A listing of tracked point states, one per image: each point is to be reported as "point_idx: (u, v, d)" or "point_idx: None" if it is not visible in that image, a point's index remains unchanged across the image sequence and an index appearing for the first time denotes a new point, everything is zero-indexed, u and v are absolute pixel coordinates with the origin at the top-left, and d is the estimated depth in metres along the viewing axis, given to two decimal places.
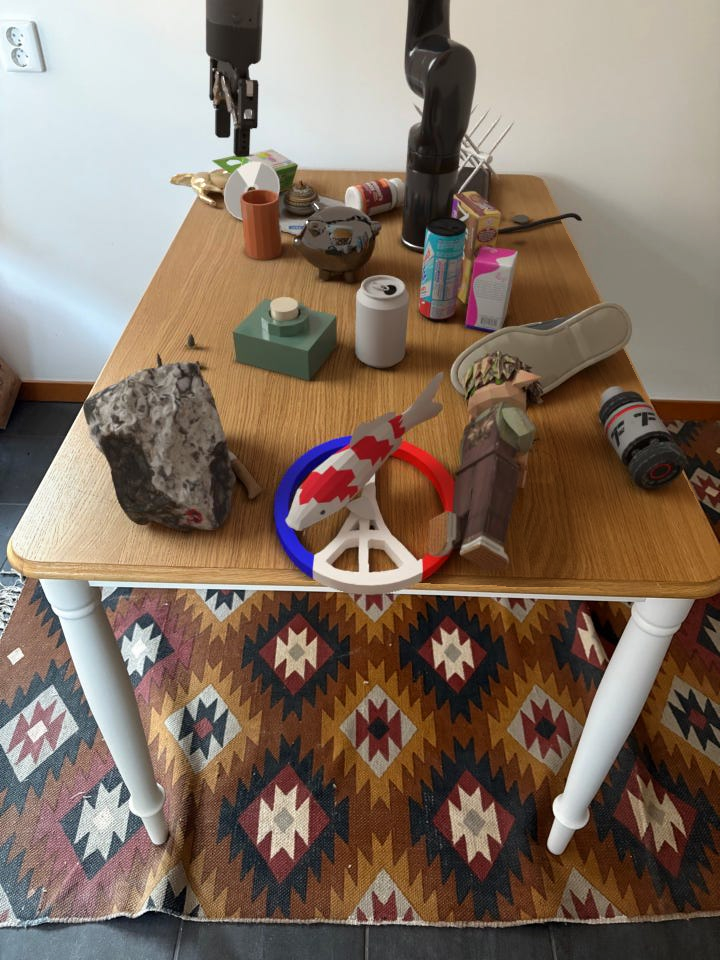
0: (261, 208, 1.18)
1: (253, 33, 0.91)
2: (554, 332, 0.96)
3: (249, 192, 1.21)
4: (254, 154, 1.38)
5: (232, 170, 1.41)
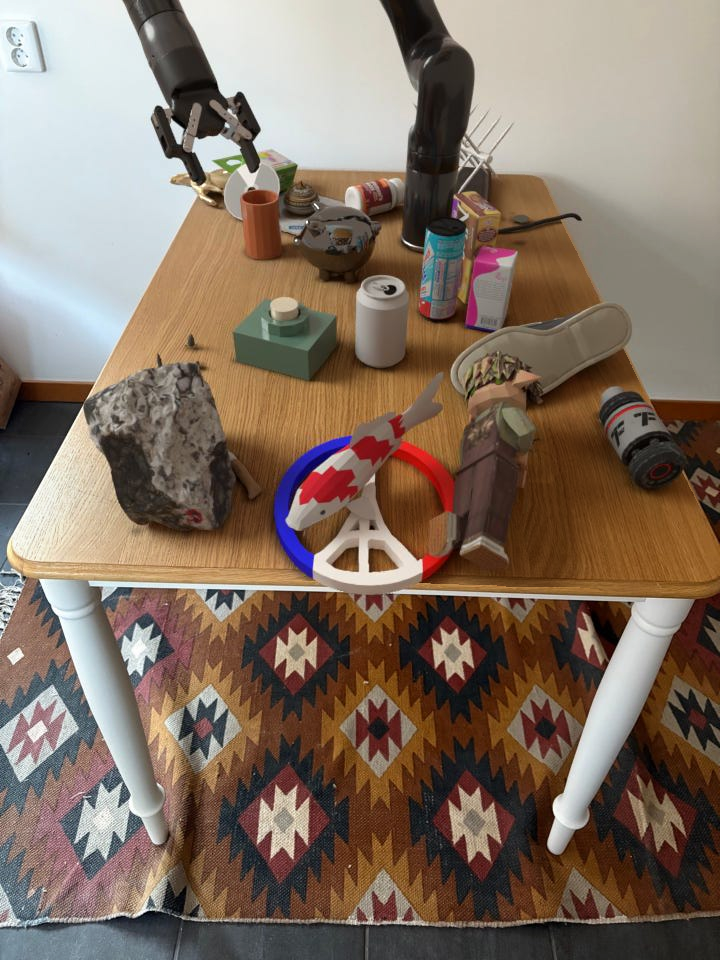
0: (261, 208, 1.18)
1: (161, 64, 0.90)
2: (554, 332, 0.96)
3: (249, 192, 1.21)
4: None
5: (232, 170, 1.41)
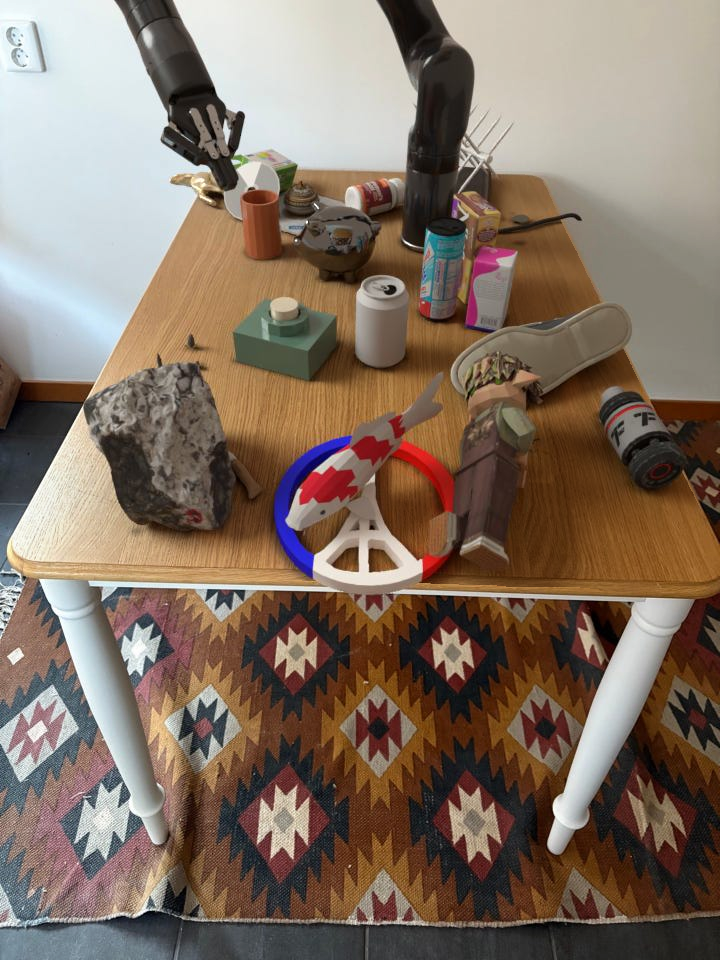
0: (261, 208, 1.18)
1: (158, 71, 0.91)
2: (554, 332, 0.96)
3: (249, 192, 1.21)
4: (254, 154, 1.38)
5: None
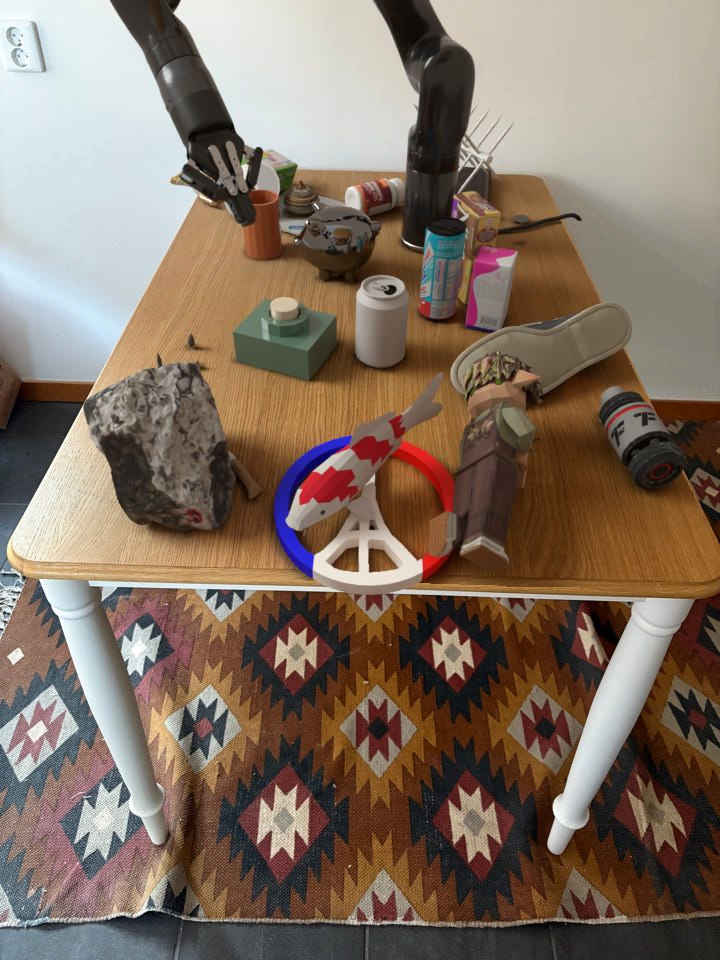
0: (261, 208, 1.18)
1: (177, 109, 0.91)
2: (554, 332, 0.96)
3: None
4: None
5: None
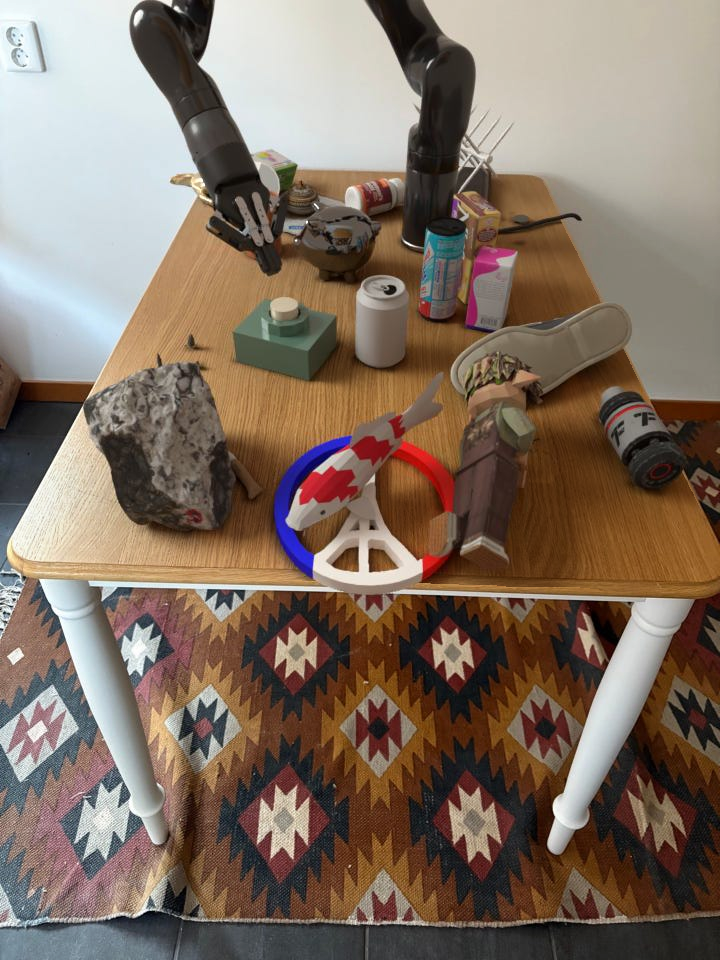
0: None
1: (204, 161, 0.91)
2: (554, 332, 0.96)
3: None
4: (254, 154, 1.38)
5: None
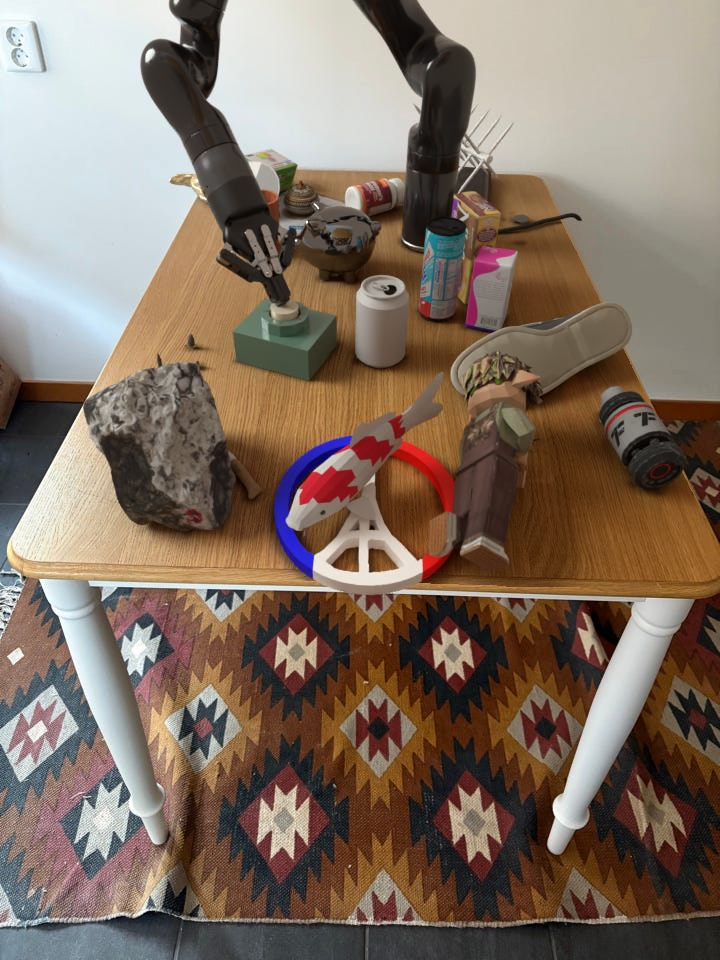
0: None
1: (214, 195, 0.93)
2: (554, 332, 0.96)
3: None
4: (254, 154, 1.38)
5: None
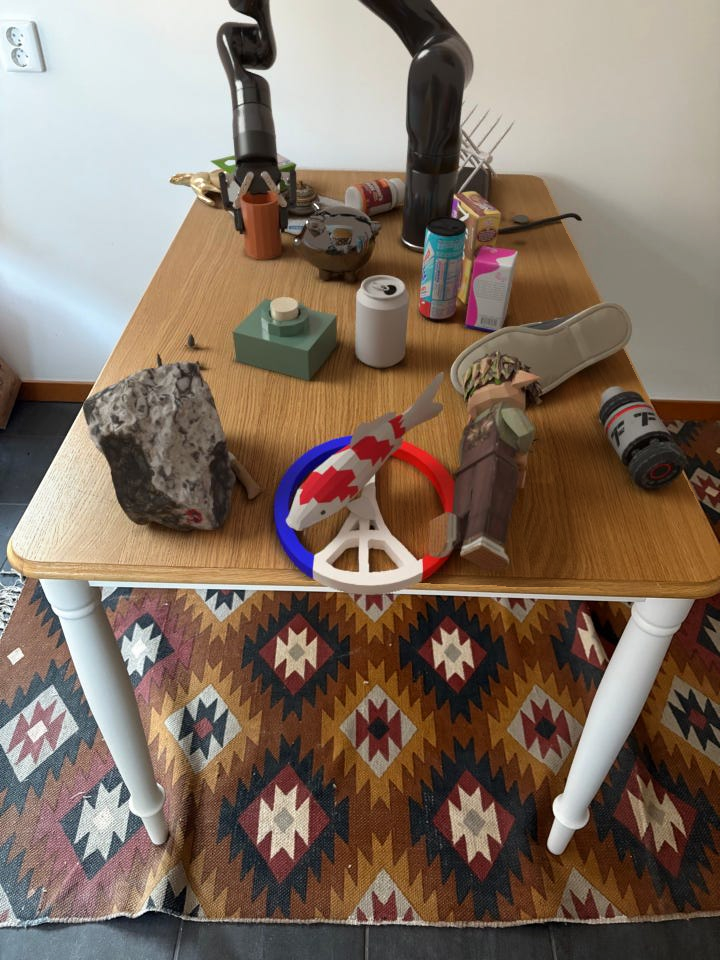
0: (261, 208, 1.18)
1: (235, 140, 1.20)
2: (554, 332, 0.96)
3: (249, 192, 1.21)
4: None
5: (231, 170, 1.41)
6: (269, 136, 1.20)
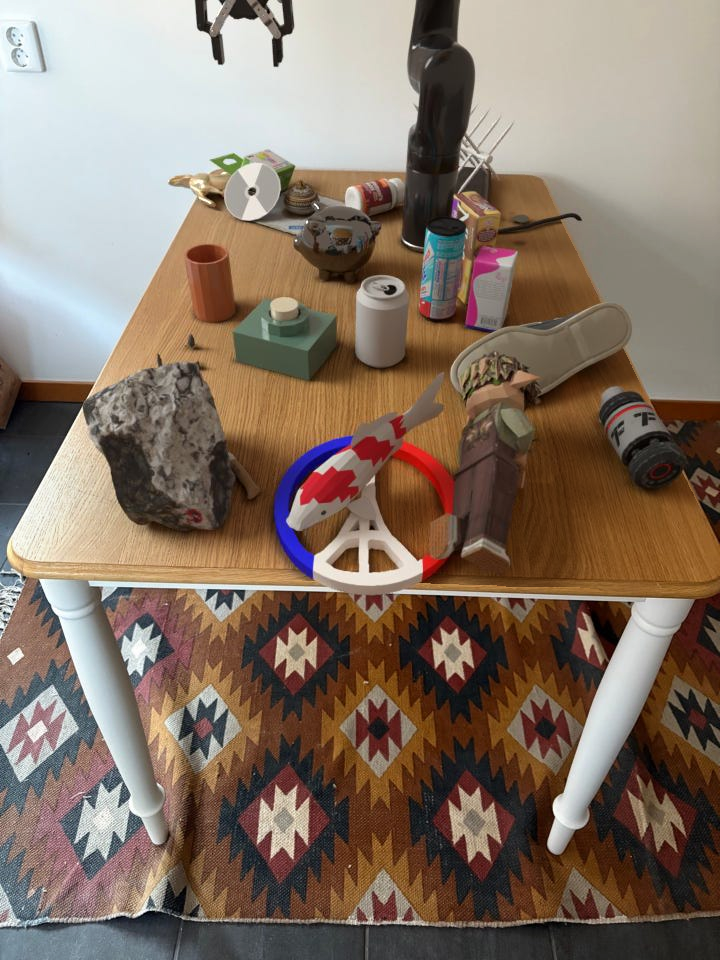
0: (207, 267, 1.03)
1: None
2: (554, 332, 0.96)
3: (196, 247, 1.06)
4: (253, 154, 1.38)
5: (230, 170, 1.40)
6: None
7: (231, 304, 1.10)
